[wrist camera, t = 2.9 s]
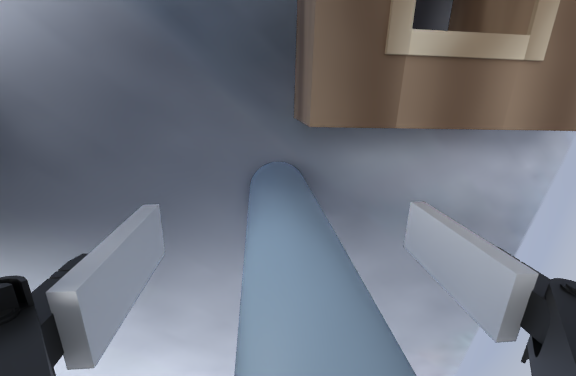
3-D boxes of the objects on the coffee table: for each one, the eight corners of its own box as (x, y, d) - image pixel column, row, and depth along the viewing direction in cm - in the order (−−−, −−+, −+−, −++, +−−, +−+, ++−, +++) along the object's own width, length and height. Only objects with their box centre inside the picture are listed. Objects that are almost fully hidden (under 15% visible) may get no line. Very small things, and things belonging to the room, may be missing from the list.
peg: (250, 214, 21) (230, 545, 5) (249, 161, 19) (220, 397, 4) (304, 213, 21) (425, 517, 6) (306, 161, 20) (467, 375, 5)
